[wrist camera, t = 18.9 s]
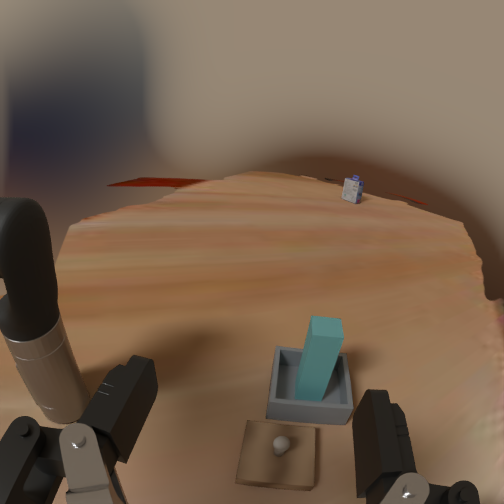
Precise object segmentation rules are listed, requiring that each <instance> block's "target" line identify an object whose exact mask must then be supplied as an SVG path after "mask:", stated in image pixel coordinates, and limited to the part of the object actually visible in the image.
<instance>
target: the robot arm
mask: <svg viewBox="0 0 504 504" xmlns="http://www.w3.org/2000/svg"><path fill="white" fill-rule="evenodd" d="M0 278H3V279H4V283H5V286H6V290H7V294H6V295H4V296H3V298H1V300H0V330H1V332H2V334H3V336H4V339H5V341H6V343H7V346H8V348H9V350H10V352H11V354H12V356H13V358H14V360H15V362H16V368H17V370H18V372H19V374H20V375H21V377H22V379H23V381H24V383H25V385H26V387H27V388H28V390H29V392H30V394H31V396H32V397H33V399H34V401H35V402H36V404H37V405H38V406H39V407H40V408H41V410H42V412H43V413H44V415H45V416H46V417H47V418H48V419H49V420H51V421H53V422H56V423H62V424H66V423H71V422H74V421H76V420H78V419H79V420H78V422H77V423H74V424H70V425H68V426H67V427H65V428H64V429H56V428H49V427H42V426H39V424H38V423H37V421H36V420H35V419H33V418H31V417H28V416H21V417H18V418H16V419H15V420H14V421H13V422H12V423H11V424H10V426H9V428H8V429H7V431H6V432H5V434H4V436H3V437H2V439H1V441H0V504H52V503H53V500H54V498H55V495H56V493H57V491H58V488H59V486H60V484H61V482H62V479H63V477H66V479H67V483H68V488H69V490H68V491H67V492H66V501H67V504H128V502H127V499H126V496H125V494H124V491H123V488H122V486H121V483H120V480H119V477H118V474H117V471H116V469H115V464H116V462H117V461H120V462H123V463H125V464H126V463H127V461H128V459H129V456H130V454H131V452H132V450H133V447H134V445H135V443H136V441H137V438H138V436H139V434H140V432H141V430H142V427H143V425H144V423H145V421H146V419H147V416H148V414H149V412H150V410H151V408H152V405H153V403H154V401H155V399H156V396H157V391H158V383H157V378H156V372H155V367H154V362H153V360H152V359H148V358H144V357H141V356H137V355H133V356H132V357H131V358H130V360H129V361H128V363H127V365H126V366H123V365H120V364H119V365H118V366H116V367H115V368H114V369H112V370H111V371H110V372H109V373H108V374H107V376H106V377H105V379H104V380H103V383H102V384H101V385H100V387H99V388H98V391H97V392H96V393H95V395H94V396H93V398H92V400H91V401H90V396H89V393H88V391H87V389H86V386H85V384H84V381H83V378H82V376H81V373H80V371H79V368H78V366H77V363H76V360H75V357H74V355H73V352H72V349H71V346H70V343H69V340H68V337H67V334H66V331H65V328H64V325H63V322H62V318H61V315H60V312H59V308H58V301H57V300H58V286H57V279H56V273H55V267H54V260H53V253H52V245H51V238H50V231H49V226H48V222H47V219H46V216H45V213H44V211H43V209H42V207H41V206H40V205H39V204H38V203H37V202H36V201H34V200H33V199H29V198H0ZM352 429H353V441H354V455H355V470H356V490H357V498H366V504H480V500H479V494H478V490H477V488H476V487H475V485H474V484H472V483H471V482H469V481H459V482H457V483H455V484H454V485H452V486H451V487H447V486H440V485H434V484H430V483H428V482H427V480H426V479H425V478H424V477H423V476H421V475H420V474H418V473H417V471H416V467H415V462H414V456H413V451H412V446H411V441H410V437H409V432H408V427H407V423H406V419H405V414H404V413H403V411H402V410H401V408H400V407H399V405H398V404H397V403H390V399H389V394H388V392H387V390H371V389H368V390H366V392H365V394H364V396H363V398H362V399H361V401H360V403H359V405H358V407H357V409H356V411H355V413H354V416H353V422H352Z"/></svg>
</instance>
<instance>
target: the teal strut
mask: <svg viewBox="0 0 504 504" xmlns="http://www.w3.org/2000/svg"><path fill="white" fill-rule="evenodd" d="M343 339H344V335H343V329H342V323H341V319H338V318H328V317H319V316H311V320H310V324H309V328H308V332H307V336H306V341H305V345H304V349H303V353H302V357H301V361H300V364H299V368H298V372H297V376H296V380H295V399H298V400H309V401H322V398H323V396H324V393H325V390H326V388H327V385H328V382H329V380H330V377H331V374H332V371H333V369H334V366H335V363H336V360H337V357H338V354H339V351H340V348H341V345H342V342H343Z"/></svg>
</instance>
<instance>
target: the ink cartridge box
mask: <svg viewBox="0 0 504 504" xmlns="http://www.w3.org/2000/svg"><path fill="white" fill-rule="evenodd" d="M354 177H357V178H354ZM358 179H359V176H356V175H354V176H353V178H345V183H344V188H343V194H342V199H344V200H347V201H350V202H352V203H360V201H361V196H362V190H363V185H364V182H362V181H359V180H358Z"/></svg>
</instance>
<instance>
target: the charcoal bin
mask: <svg viewBox="0 0 504 504" xmlns="http://www.w3.org/2000/svg"><path fill="white" fill-rule="evenodd" d="M302 353H303V349H297V348H289V347H281V346H276V349H275V355H274V360H273V367H272V375H271V383H270V390H269V398H268V405H267V413H266V418H267V419H274V420H283V421H293V422H304V423H316V424H333V425H345V424H346V422H347V420H348V418H349V416H350V415H351V413H352V411H353V409H354V408H353V400H352V391H351V383H350V375H349V368H348V361H347V354H346V353H339V354H338V357H337V360H336V363H335V366H334V369H333V371H332V374H331V377H330V380H329V382H328V385H327V388H326V390H325V393H324V396H323V398H322V401H309V400H298V399H295V380H296V376H297V372H298V368H299V364H300V361H301V357H302Z"/></svg>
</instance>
